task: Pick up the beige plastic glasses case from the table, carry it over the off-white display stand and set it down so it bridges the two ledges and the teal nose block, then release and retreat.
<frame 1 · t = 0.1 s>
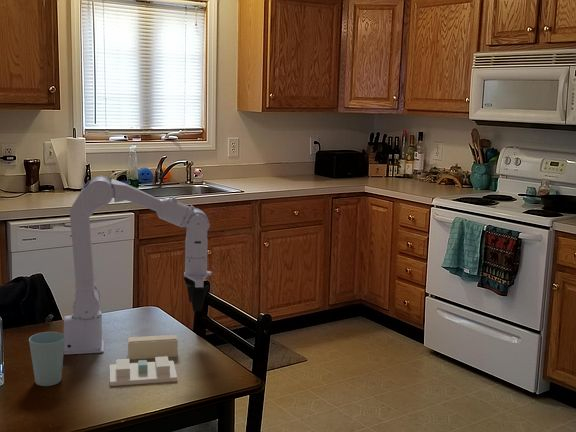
hand: (195, 306, 181), 10 cm above the table, fingers open, 7 cm apart
cup: (48, 382, 156), on the table
display stand: (142, 374, 161), on the table
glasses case: (152, 355, 173), on the table
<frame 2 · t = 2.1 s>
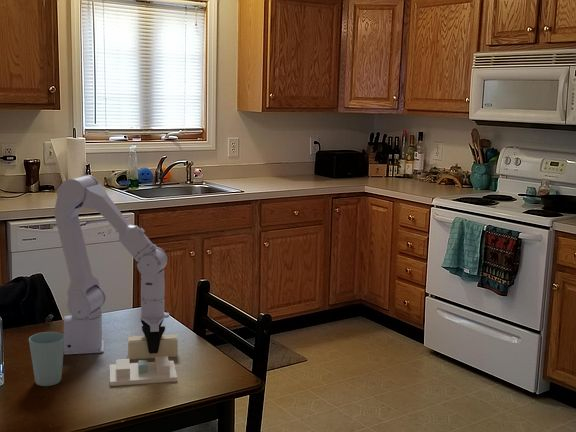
hand: (152, 349, 173), 1 cm above the table, fingers closed on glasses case, 4 cm apart
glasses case: (152, 355, 173), on the table, touching gripper
everything else where it was.
when the fingers open (6 cm above the table, at t = 4.9 s): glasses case stays where it is, resting on display stand.
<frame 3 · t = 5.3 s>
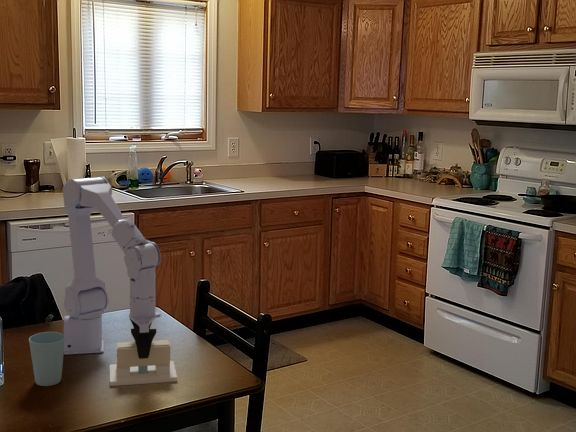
hand: (142, 351, 160), 6 cm above the table, fingers open, 7 cm apart
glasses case: (143, 362, 161), point 3 cm above the table, touching display stand
everything else where it was.
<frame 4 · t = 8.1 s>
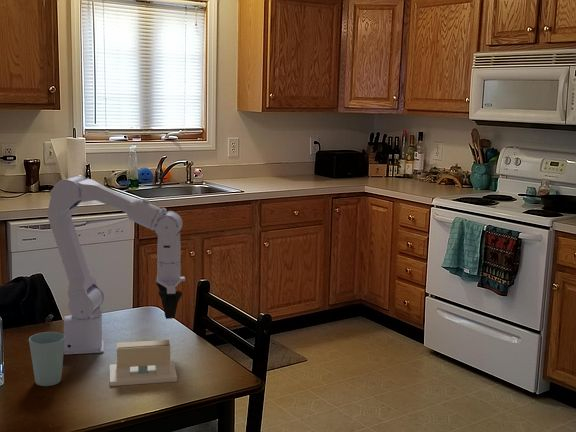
hand: (168, 313, 173), 10 cm above the table, fingers open, 7 cm apart
nothing on the table moved.
at the end: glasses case 0.1 cm off-centre on the display stand, point 3.0 cm above the display stand's base; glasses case tilted 0°; the gripper is holding nothing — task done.
